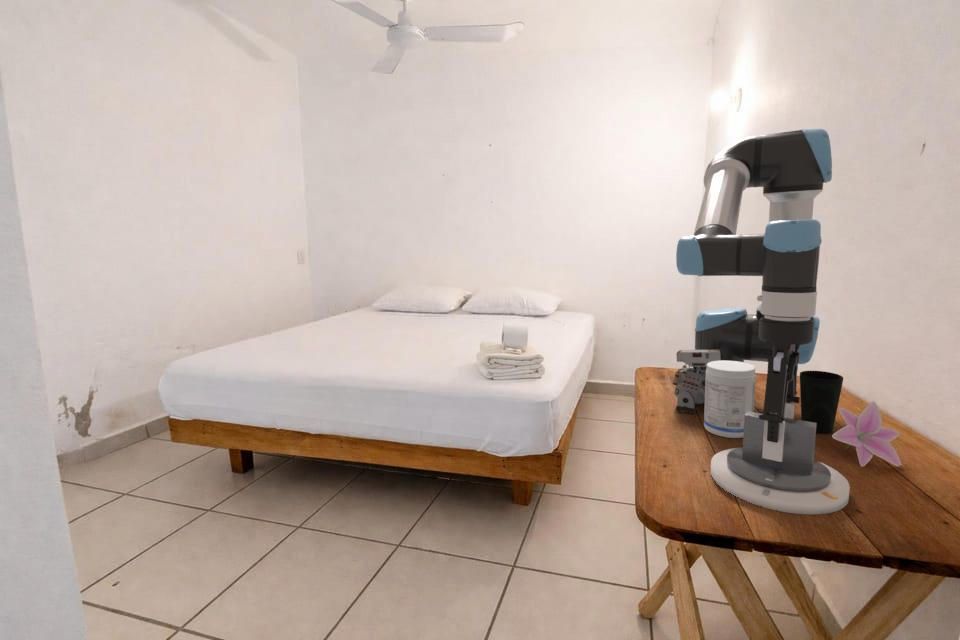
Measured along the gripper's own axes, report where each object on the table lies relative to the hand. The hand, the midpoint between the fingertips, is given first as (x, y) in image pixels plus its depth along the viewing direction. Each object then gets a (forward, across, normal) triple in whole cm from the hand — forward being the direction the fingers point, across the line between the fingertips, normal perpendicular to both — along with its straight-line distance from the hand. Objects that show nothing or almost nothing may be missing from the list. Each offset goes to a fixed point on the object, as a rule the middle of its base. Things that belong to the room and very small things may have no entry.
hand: (777, 448), depth 83 cm
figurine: (+6, -31, -21) cm, 38 cm away
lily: (+6, -20, +11) cm, 24 cm away
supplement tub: (+6, -20, -12) cm, 24 cm away
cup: (+6, -32, +3) cm, 33 cm away
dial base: (+6, 0, 0) cm, 6 cm away
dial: (+4, 0, 0) cm, 4 cm away
